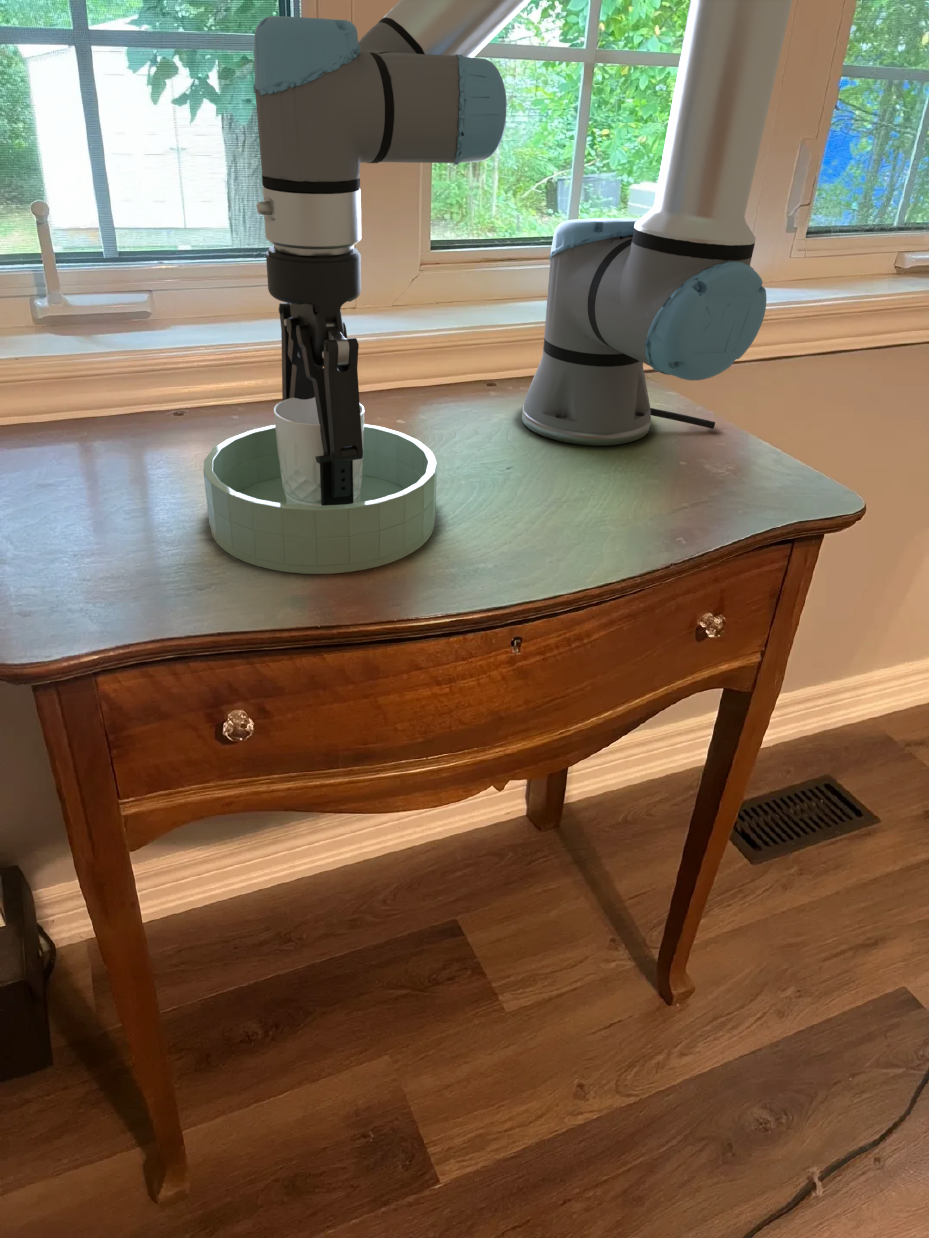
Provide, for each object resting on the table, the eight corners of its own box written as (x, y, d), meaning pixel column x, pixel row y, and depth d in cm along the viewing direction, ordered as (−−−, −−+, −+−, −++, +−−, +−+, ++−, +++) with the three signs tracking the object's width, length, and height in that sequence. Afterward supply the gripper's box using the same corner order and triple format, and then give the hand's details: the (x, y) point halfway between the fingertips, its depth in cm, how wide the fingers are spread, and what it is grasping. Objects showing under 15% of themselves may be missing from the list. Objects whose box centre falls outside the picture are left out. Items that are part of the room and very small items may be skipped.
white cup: (351, 536, 83) (348, 429, 78) (267, 525, 85) (259, 418, 79) (376, 501, 90) (375, 399, 85) (297, 491, 91) (292, 390, 86)
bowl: (415, 473, 98) (416, 417, 95) (453, 566, 81) (456, 502, 78) (212, 481, 94) (206, 424, 91) (207, 581, 77) (200, 515, 74)
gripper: (234, 225, 81) (254, 471, 93) (307, 275, 66) (319, 562, 78) (318, 223, 84) (326, 461, 96) (406, 270, 69) (403, 548, 81)
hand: (323, 506), depth 87 cm, fingers closed on white cup, 8 cm apart
